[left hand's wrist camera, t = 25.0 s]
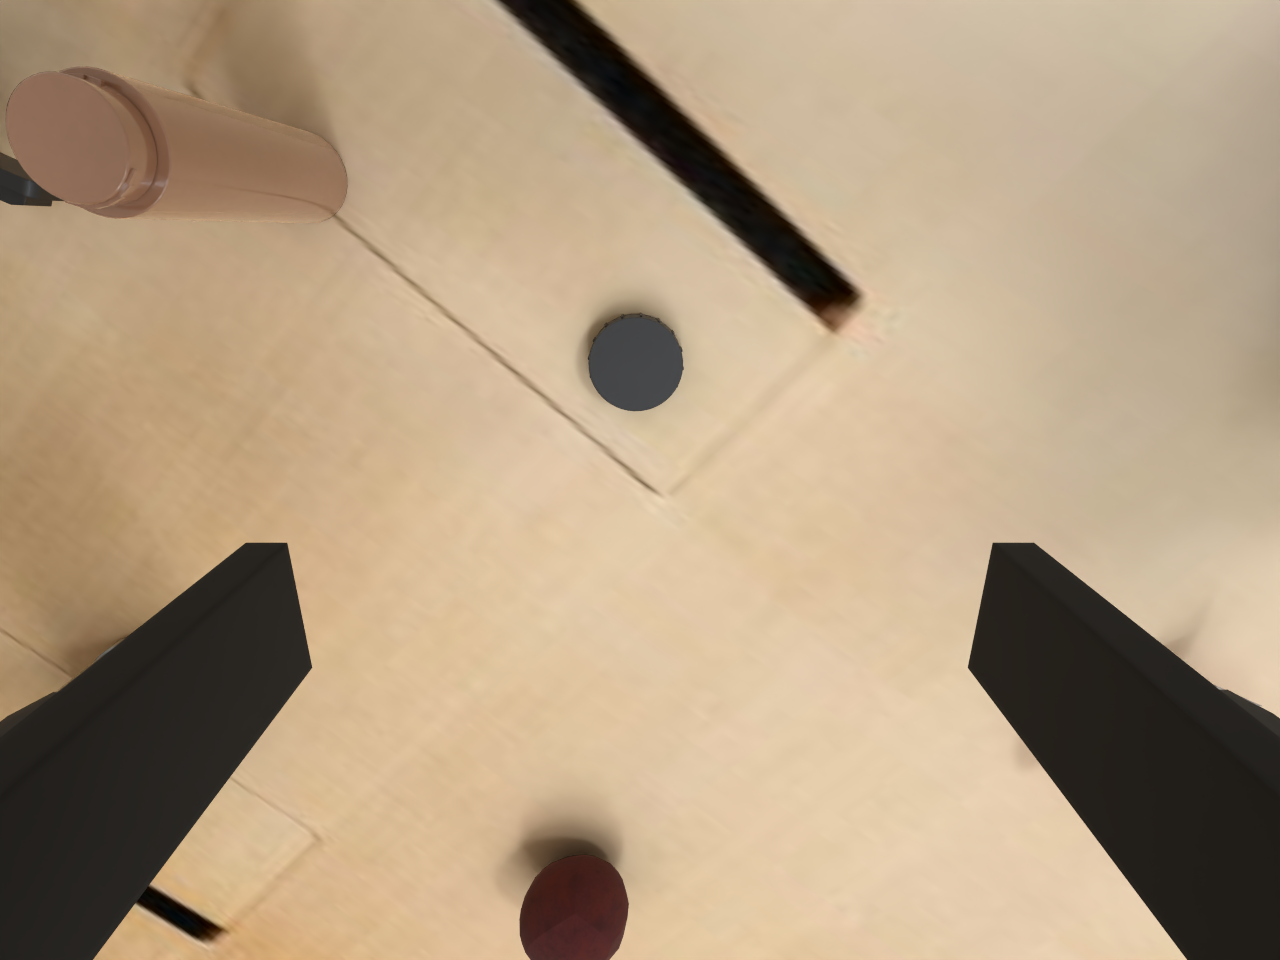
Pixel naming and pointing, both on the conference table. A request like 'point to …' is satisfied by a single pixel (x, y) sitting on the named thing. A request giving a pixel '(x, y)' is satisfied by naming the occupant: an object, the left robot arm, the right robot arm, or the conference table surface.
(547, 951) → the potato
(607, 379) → the lid
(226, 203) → the tan cylinder
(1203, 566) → the conference table surface
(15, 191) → the right robot arm
